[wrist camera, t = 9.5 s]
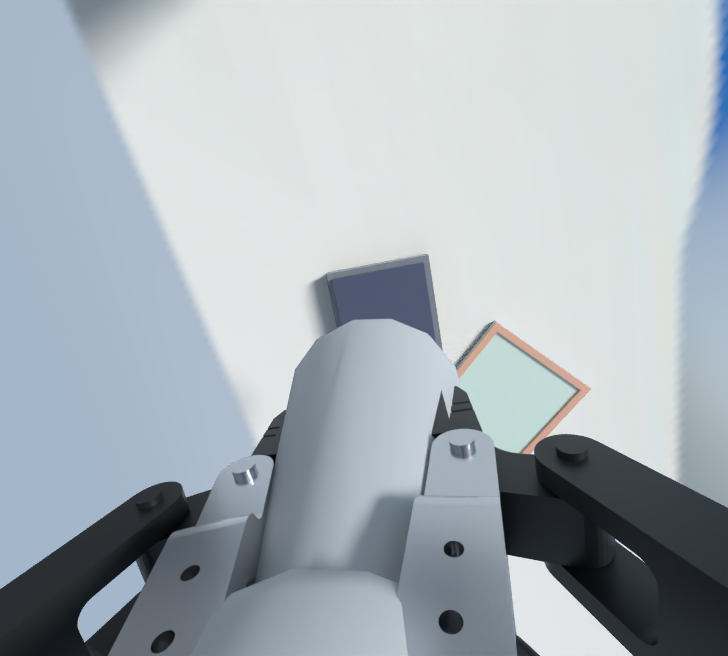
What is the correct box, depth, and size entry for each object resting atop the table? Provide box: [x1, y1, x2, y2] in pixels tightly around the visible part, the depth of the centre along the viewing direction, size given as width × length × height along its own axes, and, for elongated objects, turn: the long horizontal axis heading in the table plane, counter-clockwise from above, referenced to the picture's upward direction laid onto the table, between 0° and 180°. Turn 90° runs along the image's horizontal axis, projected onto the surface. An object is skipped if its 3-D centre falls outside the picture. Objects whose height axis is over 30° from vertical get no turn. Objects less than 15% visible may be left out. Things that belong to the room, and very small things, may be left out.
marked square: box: [456, 321, 591, 454], centre depth 29 cm, size 8×8×1 cm
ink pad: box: [326, 254, 443, 351], centre depth 27 cm, size 7×7×2 cm
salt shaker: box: [190, 319, 461, 656], centre depth 9 cm, size 6×6×13 cm
